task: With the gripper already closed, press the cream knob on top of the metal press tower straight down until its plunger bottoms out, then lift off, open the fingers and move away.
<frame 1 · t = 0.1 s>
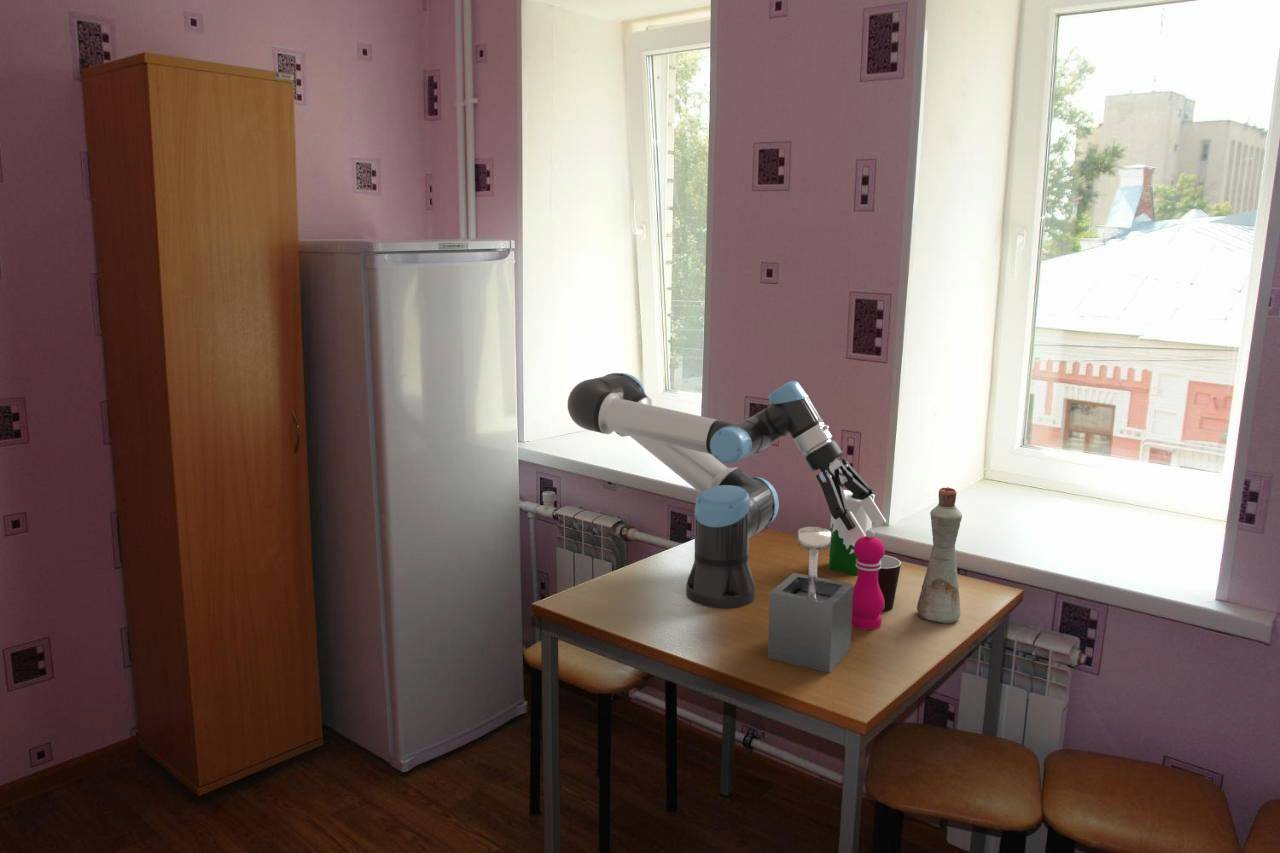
hand: (871, 533, 201), 15 cm above the table, tool tilted 35°, fingers open, 13 cm apart
press tower: (809, 653, 179), on the table
pepper mill: (865, 624, 192), on the table
bottle: (937, 618, 196), on the table
milk carton: (848, 569, 224), on the table
plunger: (812, 569, 175), point 17 cm above the table, slide at 8.0 cm
coffee mug: (877, 604, 203), on the table
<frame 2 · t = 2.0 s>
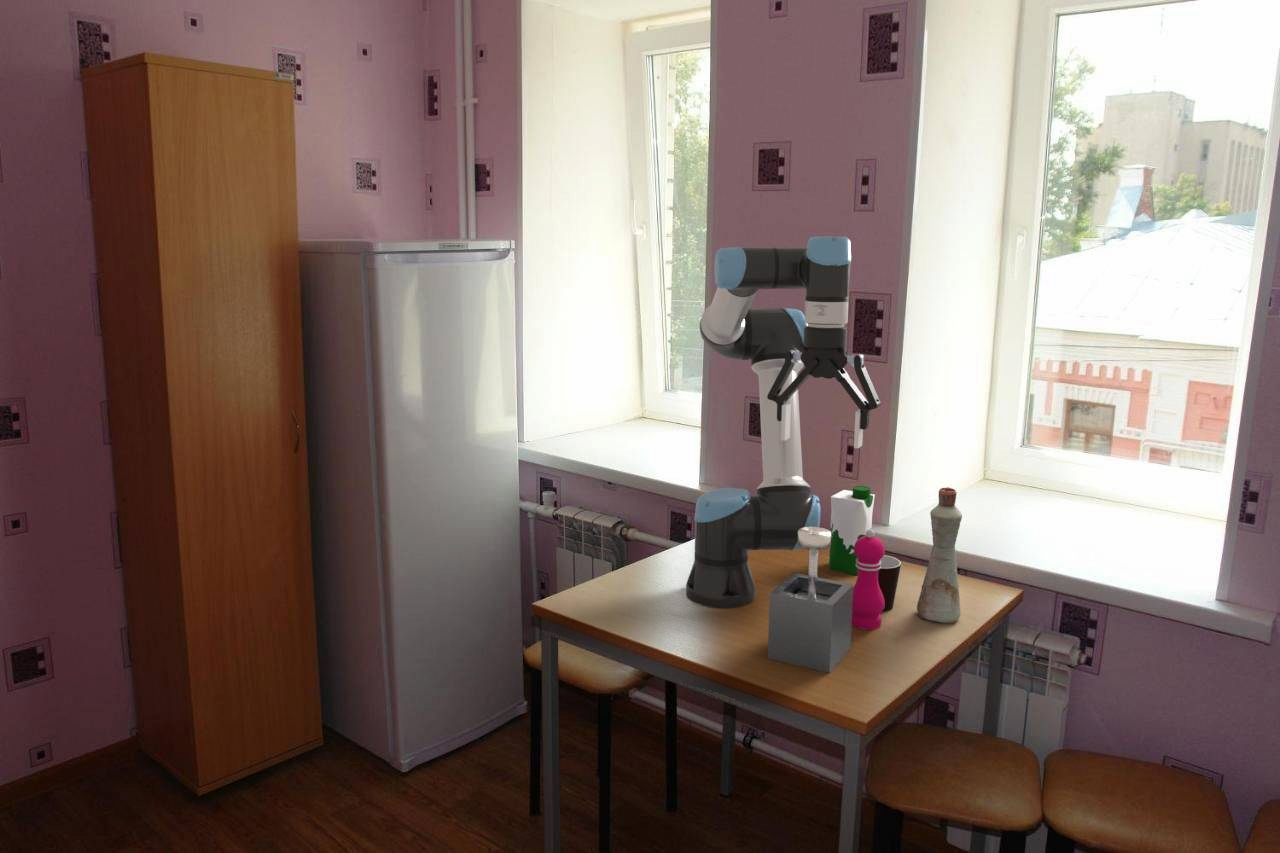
hand: (820, 443, 171), 41 cm above the table, tool pointing down, fingers open, 13 cm apart
nothing on the table moved.
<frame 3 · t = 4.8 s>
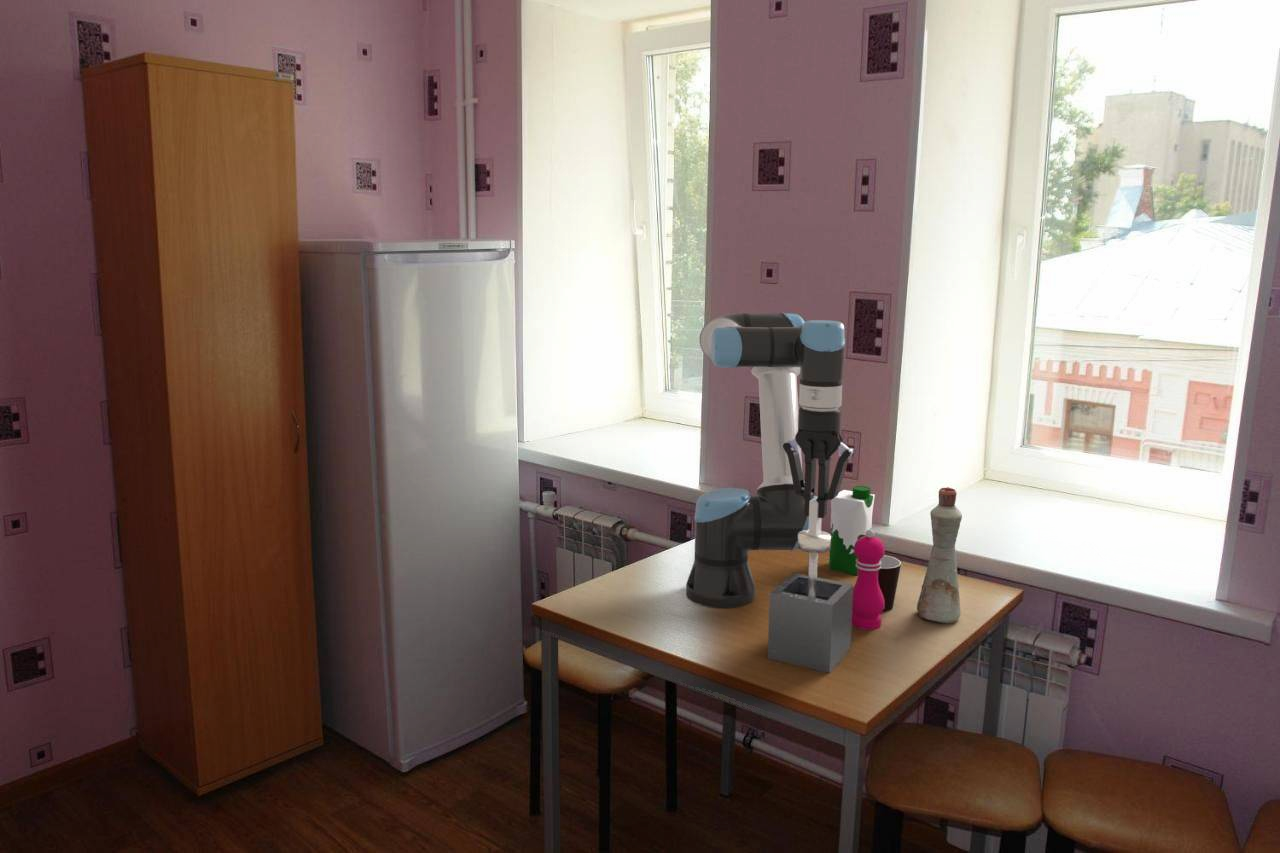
hand: (814, 533, 174), 24 cm above the table, tool pointing down, fingers closed
plunger: (812, 572, 175), point 16 cm above the table, slide at 7.4 cm, touching gripper
everything else where it was.
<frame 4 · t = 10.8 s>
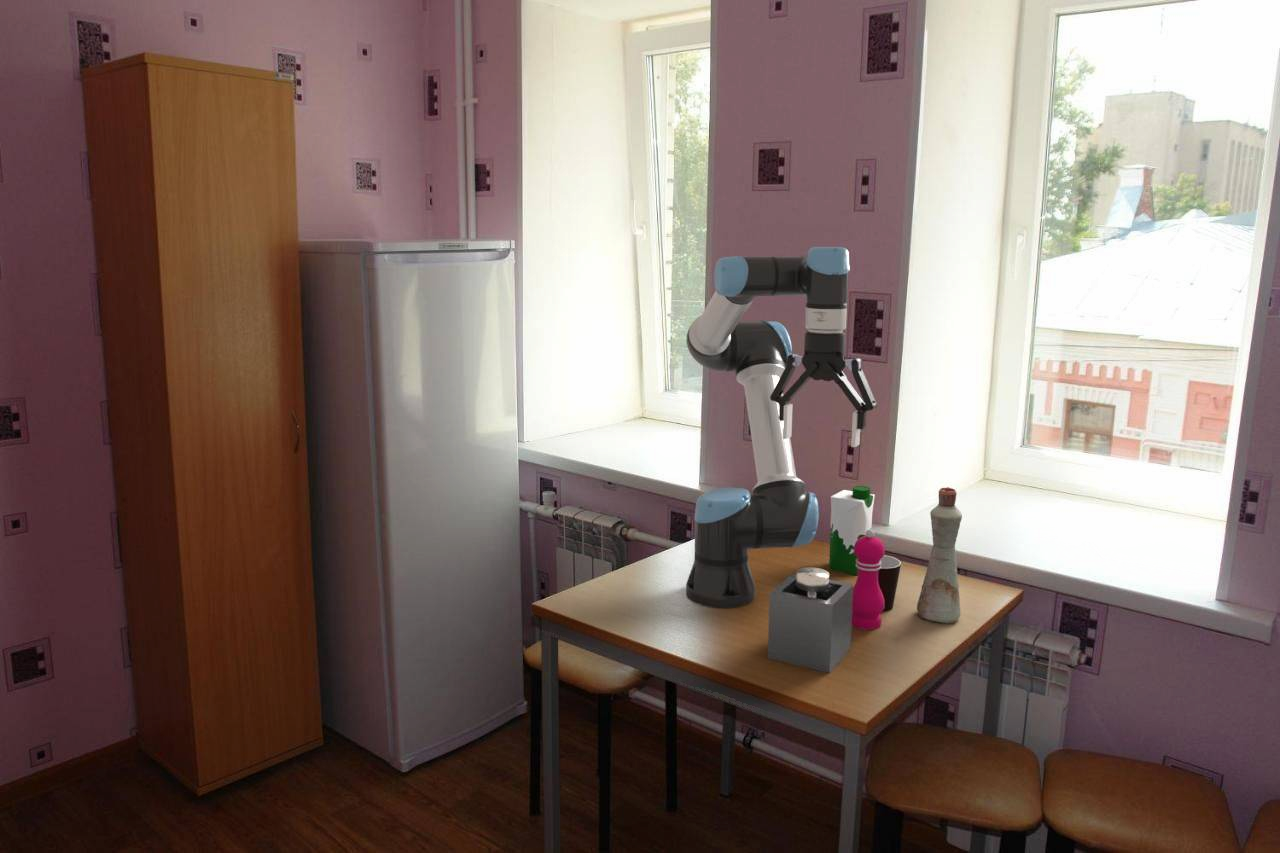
hand: (820, 441, 181), 39 cm above the table, tool pointing down, fingers open, 13 cm apart
plunger: (811, 610, 177), point 9 cm above the table, slide at 0.0 cm
everything else where it was.
at the end: plunger slide at 0.0 cm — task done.
